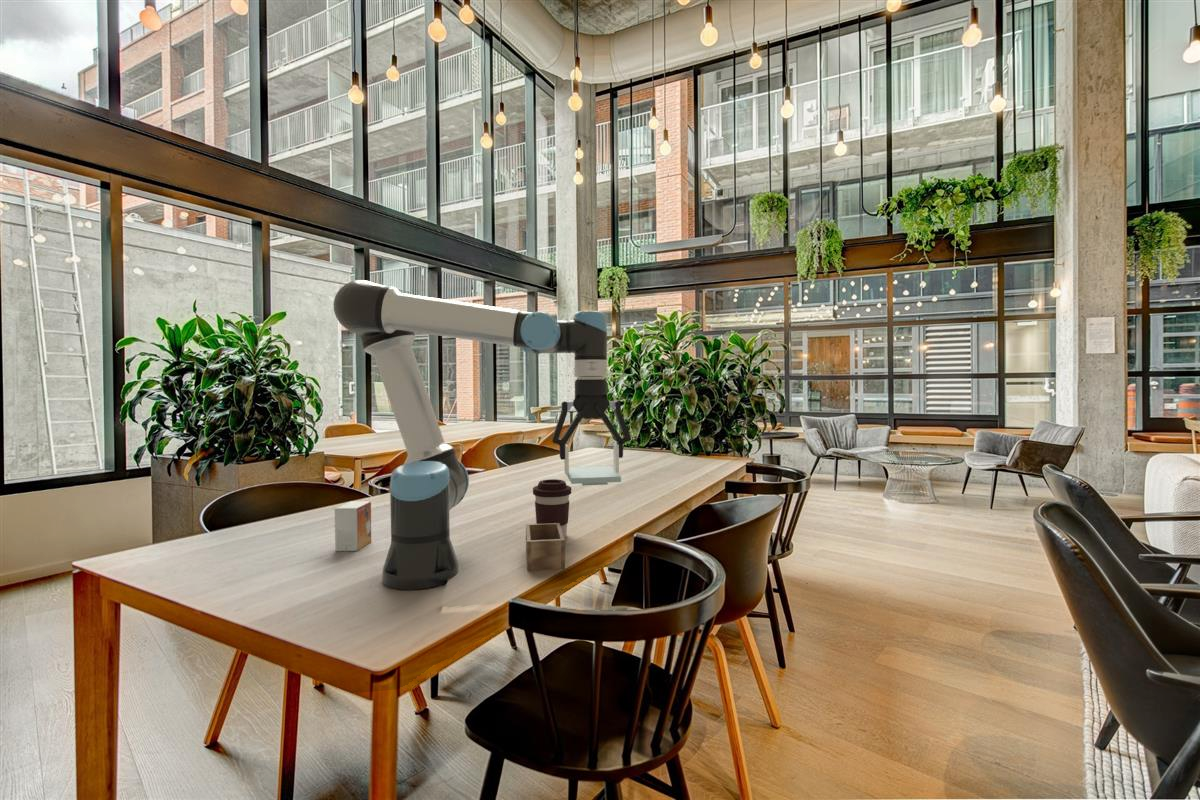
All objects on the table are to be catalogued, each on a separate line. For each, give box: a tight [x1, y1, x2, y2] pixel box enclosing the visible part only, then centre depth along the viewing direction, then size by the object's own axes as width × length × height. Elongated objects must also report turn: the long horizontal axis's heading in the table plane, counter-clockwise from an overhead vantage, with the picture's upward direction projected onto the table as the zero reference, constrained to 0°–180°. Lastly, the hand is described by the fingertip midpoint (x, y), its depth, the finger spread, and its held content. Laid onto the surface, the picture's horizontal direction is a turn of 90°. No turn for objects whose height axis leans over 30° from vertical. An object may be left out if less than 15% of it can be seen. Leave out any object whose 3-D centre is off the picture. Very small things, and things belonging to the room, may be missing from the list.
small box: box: [334, 500, 372, 552], centre depth 134 cm, size 8×6×10 cm
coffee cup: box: [532, 478, 572, 539], centre depth 141 cm, size 10×10×15 cm
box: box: [525, 523, 566, 572], centre depth 123 cm, size 8×14×7 cm, turn 9°
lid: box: [566, 465, 622, 486], centre depth 127 cm, size 11×15×2 cm
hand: (591, 472), depth 127 cm, fingers closed on lid, 11 cm apart
